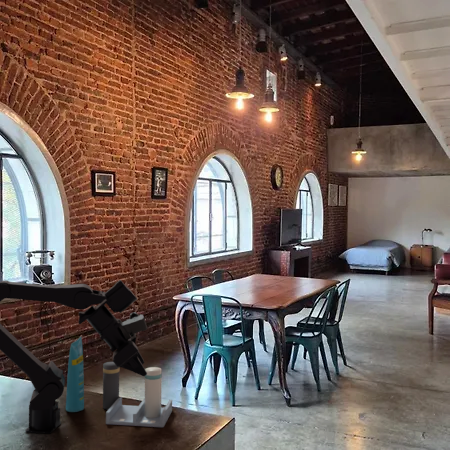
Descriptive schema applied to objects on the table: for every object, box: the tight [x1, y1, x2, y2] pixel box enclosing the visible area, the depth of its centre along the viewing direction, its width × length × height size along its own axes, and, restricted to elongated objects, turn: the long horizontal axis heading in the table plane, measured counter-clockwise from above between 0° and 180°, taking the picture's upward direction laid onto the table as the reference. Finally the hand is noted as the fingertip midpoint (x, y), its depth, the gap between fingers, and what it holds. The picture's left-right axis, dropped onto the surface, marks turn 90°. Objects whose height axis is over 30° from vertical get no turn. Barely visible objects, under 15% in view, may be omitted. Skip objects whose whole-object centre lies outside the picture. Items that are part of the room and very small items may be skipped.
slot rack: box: [105, 396, 173, 428], centre depth 132 cm, size 15×11×3 cm
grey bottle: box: [102, 361, 121, 411], centre depth 139 cm, size 4×4×12 cm
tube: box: [65, 336, 85, 413], centre depth 137 cm, size 7×5×19 cm, turn 2°
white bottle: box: [144, 366, 163, 418], centre depth 132 cm, size 4×4×12 cm
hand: (144, 369), depth 131 cm, fingers open, 9 cm apart
